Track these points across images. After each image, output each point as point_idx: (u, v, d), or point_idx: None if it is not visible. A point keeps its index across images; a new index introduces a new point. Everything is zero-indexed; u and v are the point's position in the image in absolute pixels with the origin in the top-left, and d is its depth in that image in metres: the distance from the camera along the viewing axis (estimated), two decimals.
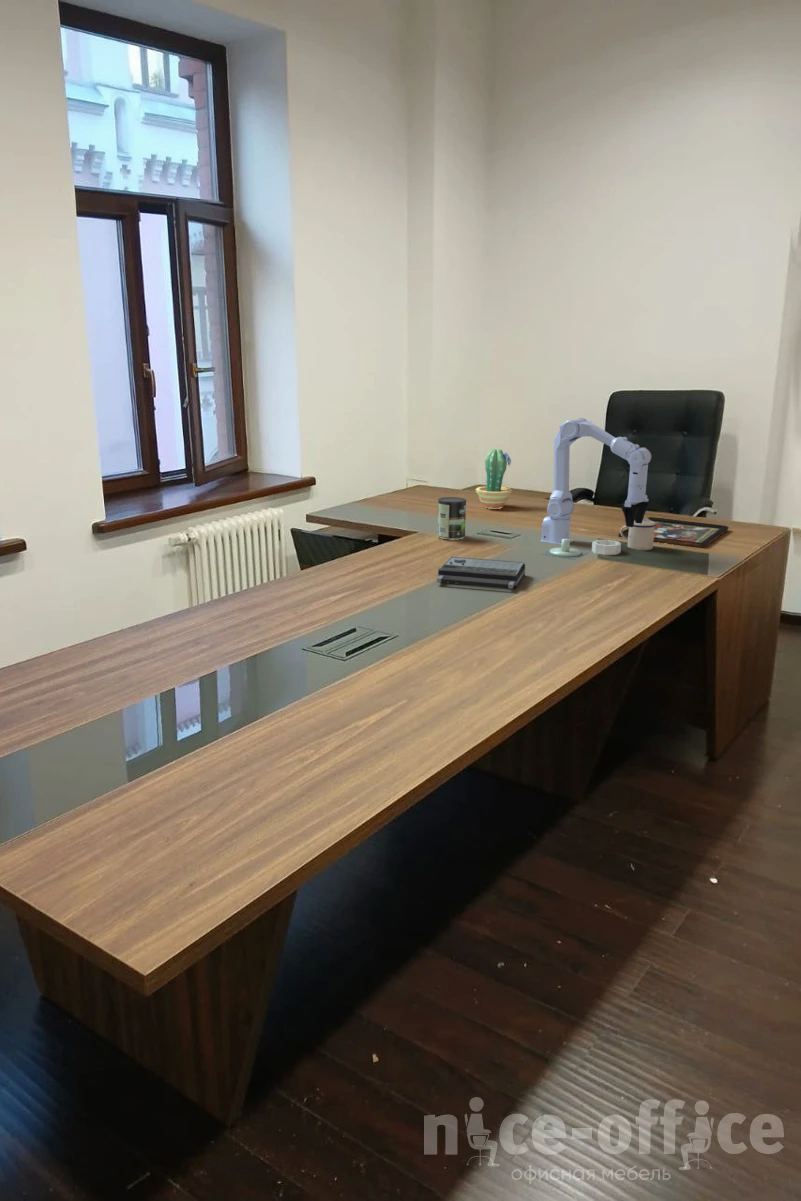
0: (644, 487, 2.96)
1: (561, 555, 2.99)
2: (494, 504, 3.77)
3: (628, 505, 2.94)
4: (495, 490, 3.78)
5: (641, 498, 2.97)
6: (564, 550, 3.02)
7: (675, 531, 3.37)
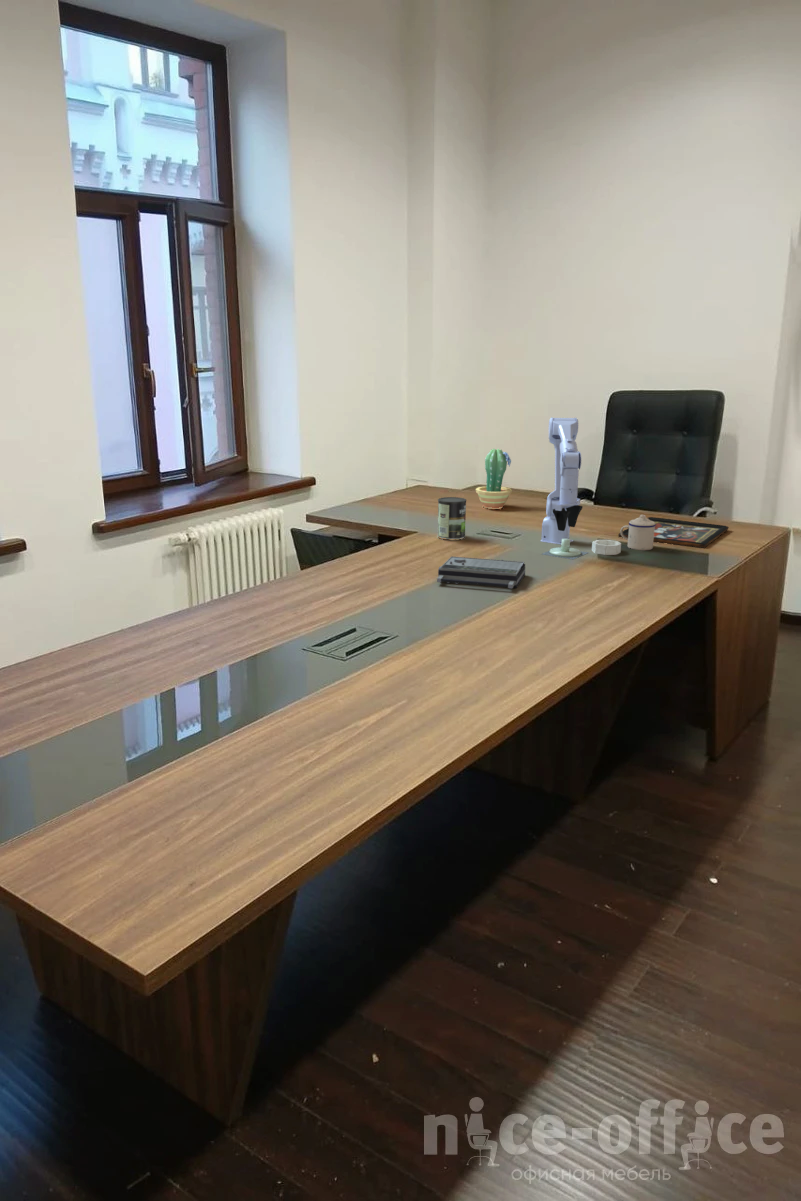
0: (575, 491, 2.96)
1: (561, 555, 2.99)
2: (494, 504, 3.77)
3: (559, 509, 2.93)
4: (495, 490, 3.78)
5: (572, 502, 2.96)
6: (564, 550, 3.02)
7: (675, 531, 3.37)
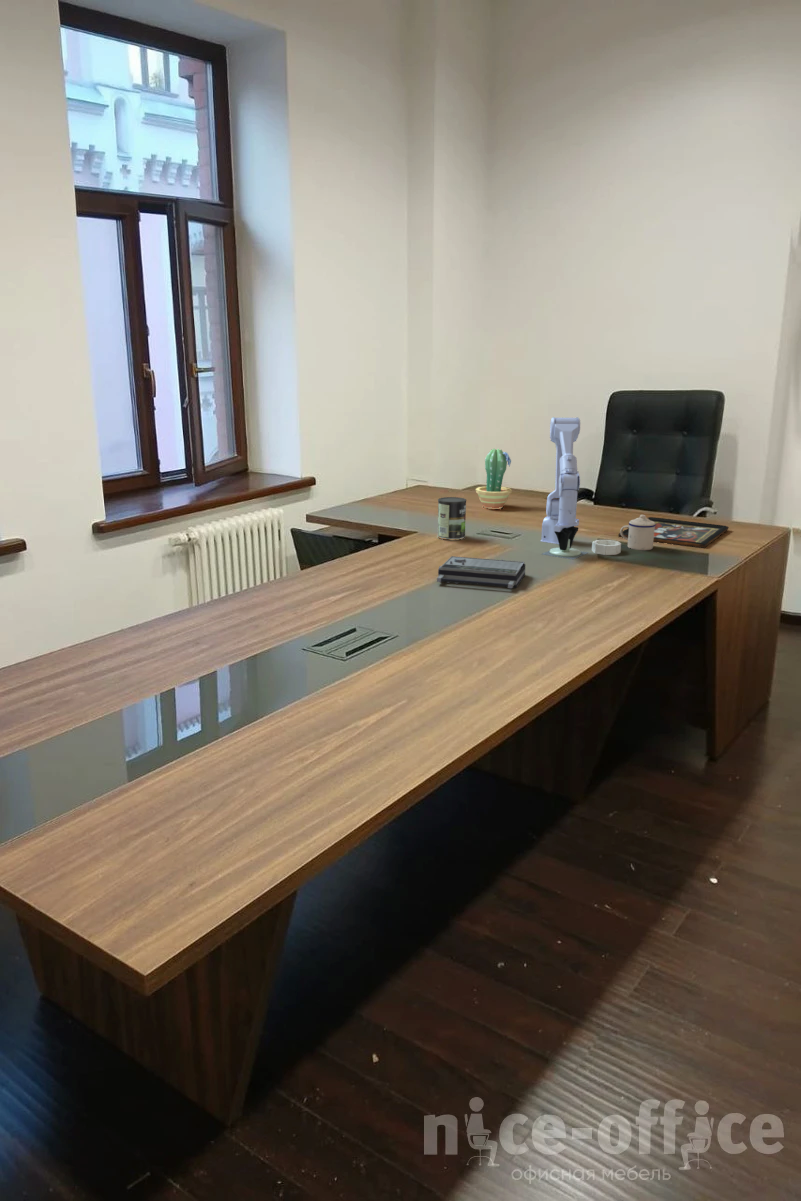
0: (574, 512, 2.98)
1: (561, 555, 2.99)
2: (494, 504, 3.77)
3: (557, 530, 2.95)
4: (495, 490, 3.78)
5: (571, 523, 2.98)
6: (564, 550, 3.02)
7: (675, 531, 3.37)
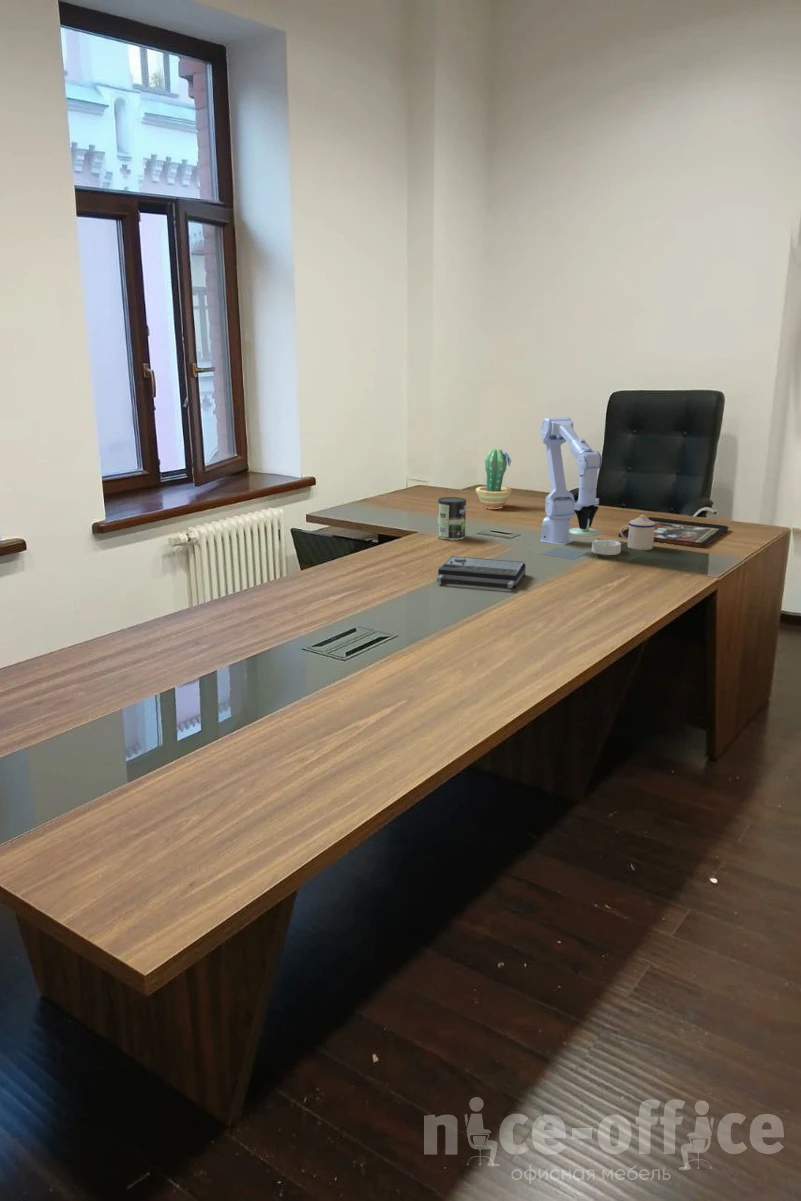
0: (594, 490, 2.97)
1: (581, 535, 2.98)
2: (494, 504, 3.77)
3: (577, 508, 2.95)
4: (495, 490, 3.78)
5: (591, 501, 2.97)
6: (584, 530, 3.01)
7: (675, 531, 3.37)
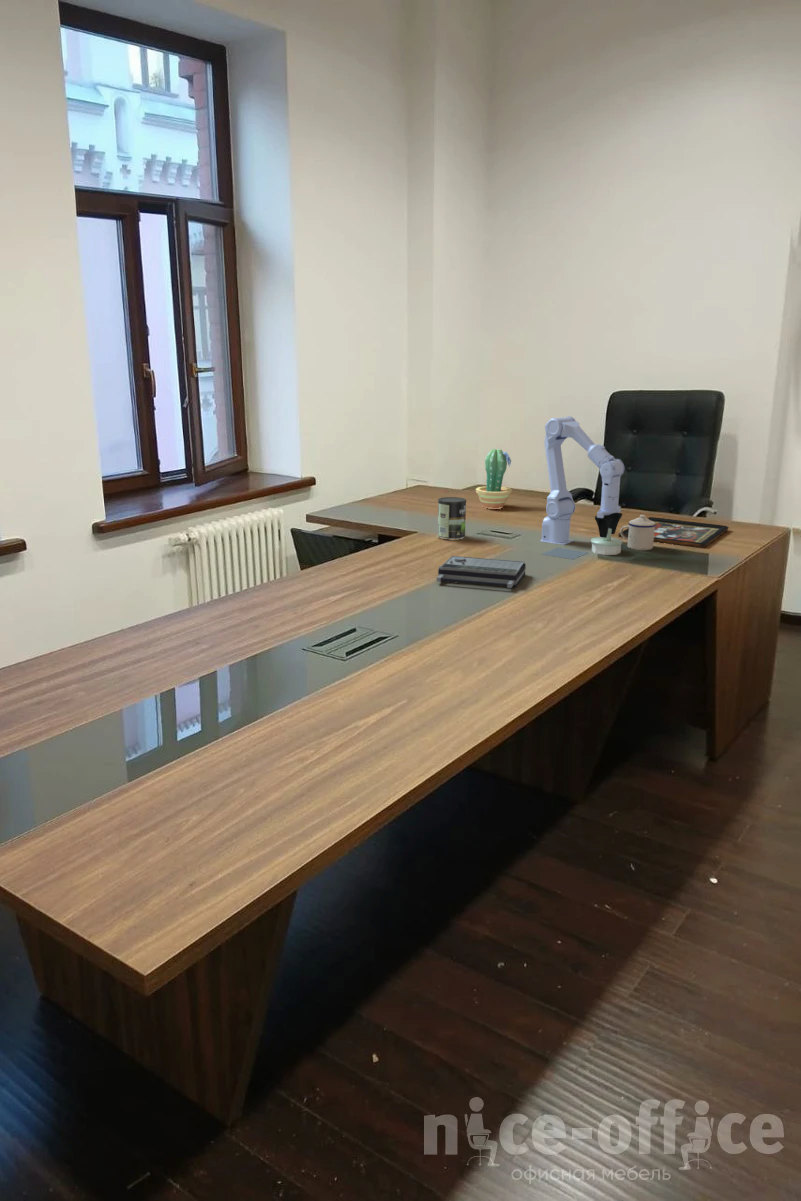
0: (617, 498, 2.99)
1: (605, 544, 3.01)
2: (494, 504, 3.77)
3: (600, 516, 2.97)
4: (495, 490, 3.78)
5: (614, 509, 3.00)
6: (606, 539, 3.04)
7: (675, 531, 3.37)
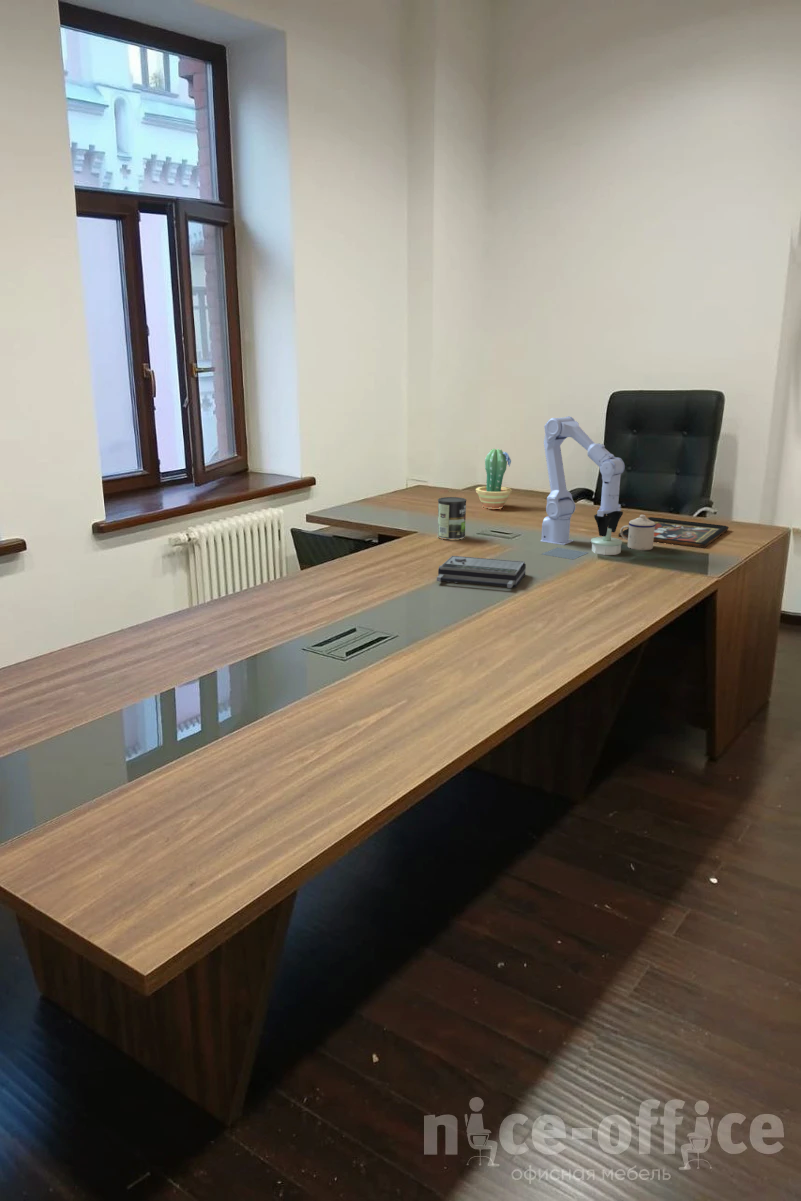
0: (617, 497, 2.99)
1: (605, 544, 3.01)
2: (494, 504, 3.77)
3: (600, 514, 2.97)
4: (495, 490, 3.78)
5: (614, 507, 3.00)
6: (606, 539, 3.04)
7: (675, 531, 3.37)
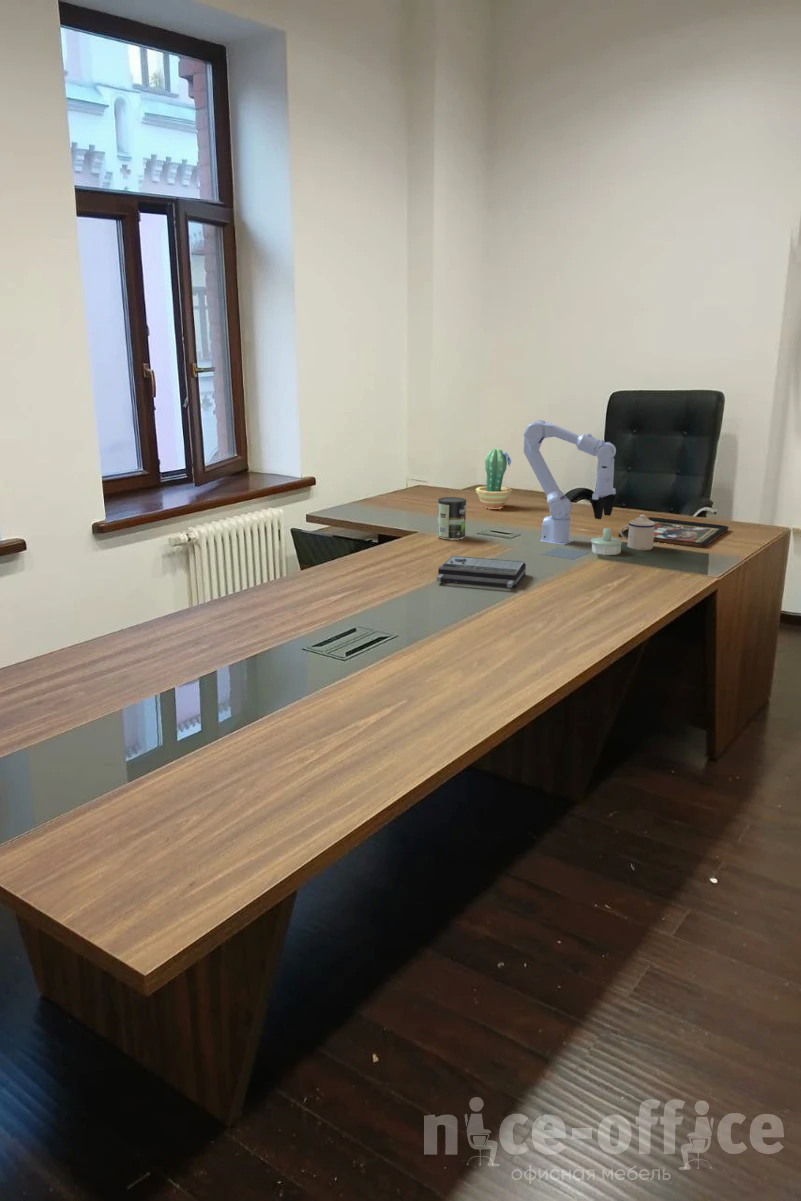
0: (611, 480, 3.07)
1: (605, 544, 3.01)
2: (494, 504, 3.77)
3: (596, 498, 3.05)
4: (495, 490, 3.78)
5: (608, 491, 3.08)
6: (606, 539, 3.04)
7: (675, 531, 3.36)
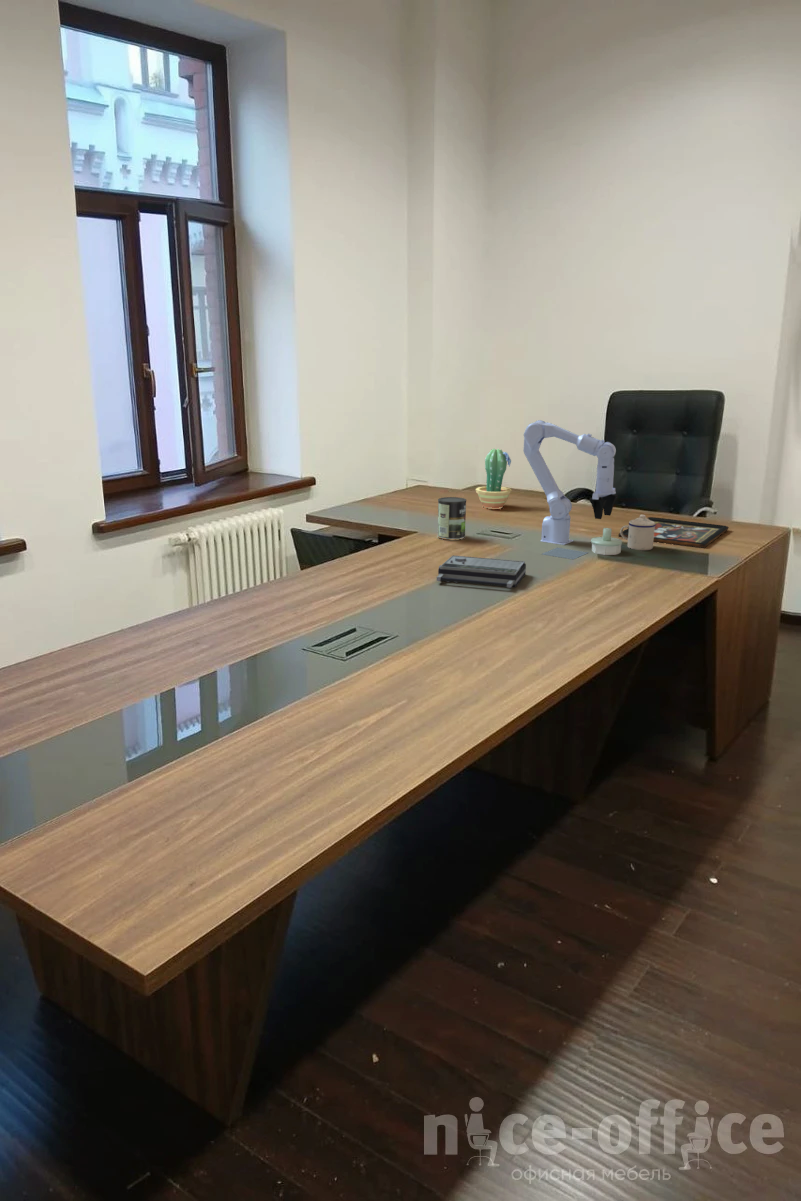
0: (611, 480, 3.07)
1: (605, 544, 3.01)
2: (494, 504, 3.77)
3: (596, 498, 3.05)
4: (495, 490, 3.78)
5: (608, 491, 3.08)
6: (606, 539, 3.04)
7: (675, 531, 3.36)
